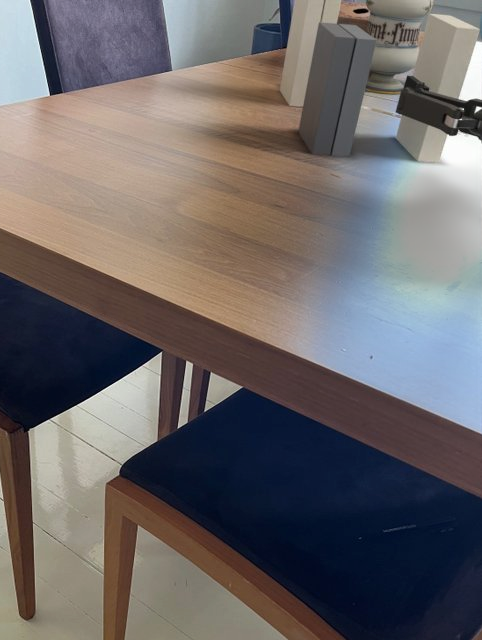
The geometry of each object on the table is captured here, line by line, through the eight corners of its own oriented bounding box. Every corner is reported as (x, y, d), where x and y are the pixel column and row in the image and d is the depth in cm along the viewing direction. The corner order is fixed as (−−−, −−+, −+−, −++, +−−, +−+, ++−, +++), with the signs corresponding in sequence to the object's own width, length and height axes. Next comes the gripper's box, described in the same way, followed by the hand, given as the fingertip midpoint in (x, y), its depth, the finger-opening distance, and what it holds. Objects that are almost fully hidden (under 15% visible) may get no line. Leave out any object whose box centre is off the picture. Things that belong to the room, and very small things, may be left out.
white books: (307, 92, 132) (328, -18, 122) (319, 108, 124) (343, -10, 113) (279, 90, 132) (298, -21, 122) (289, 106, 124) (310, -12, 113)
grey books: (331, 139, 109) (356, 25, 100) (348, 163, 100) (376, 39, 91) (297, 137, 109) (318, 22, 99) (310, 160, 100) (335, 36, 91)
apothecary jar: (335, 80, 142) (358, -29, 131) (386, 79, 146) (412, -27, 135) (372, 96, 134) (400, -20, 122) (424, 95, 138) (456, -18, 126)
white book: (413, 145, 110) (450, 15, 99) (437, 169, 101) (480, 29, 90) (393, 144, 109) (428, 13, 99) (415, 167, 101) (456, 27, 90)
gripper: (402, 169, 77) (354, 116, 93) (631, 185, 78) (543, 130, 95) (424, 92, 72) (370, 50, 89) (667, 110, 73) (568, 66, 90)
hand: (459, 91), depth 92 cm, fingers open, 13 cm apart
